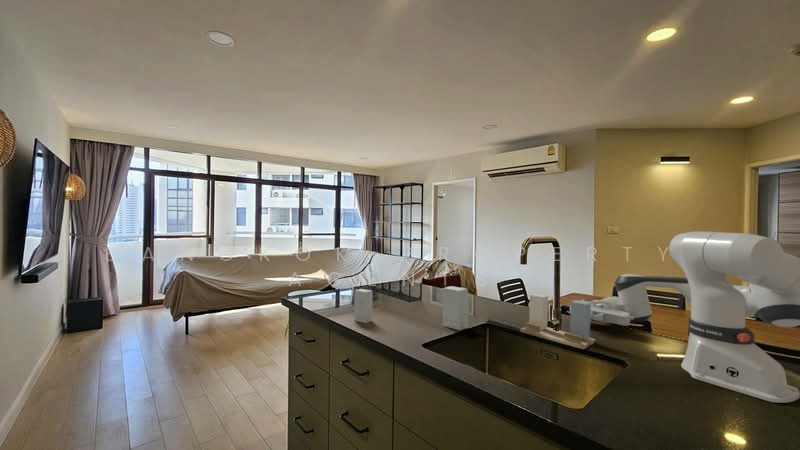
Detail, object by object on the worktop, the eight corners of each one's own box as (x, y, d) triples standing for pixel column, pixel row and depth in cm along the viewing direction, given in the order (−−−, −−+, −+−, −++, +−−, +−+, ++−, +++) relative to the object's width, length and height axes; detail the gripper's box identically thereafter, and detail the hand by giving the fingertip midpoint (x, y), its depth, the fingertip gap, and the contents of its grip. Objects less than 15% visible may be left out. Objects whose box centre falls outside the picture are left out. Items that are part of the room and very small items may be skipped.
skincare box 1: (372, 320, 136) (373, 290, 136) (365, 323, 133) (366, 292, 132) (360, 318, 139) (361, 288, 139) (353, 320, 136) (354, 290, 136)
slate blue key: (574, 333, 123) (575, 300, 122) (589, 337, 119) (590, 302, 119) (569, 336, 120) (570, 301, 120) (585, 340, 116) (586, 304, 116)
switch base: (533, 326, 135) (533, 317, 135) (595, 342, 119) (595, 332, 118) (519, 331, 128) (520, 322, 128) (583, 349, 111) (584, 338, 111)
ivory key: (534, 325, 132) (535, 293, 132) (547, 328, 128) (548, 295, 128) (529, 327, 129) (530, 294, 129) (542, 330, 125) (543, 297, 125)
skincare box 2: (468, 328, 130) (469, 288, 130) (458, 331, 126) (460, 290, 126) (450, 322, 136) (451, 285, 136) (440, 325, 132) (442, 286, 132)
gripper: (635, 325, 130) (624, 333, 120) (577, 313, 145) (563, 319, 135) (636, 308, 129) (625, 315, 120) (578, 298, 144) (564, 303, 135)
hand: (592, 317), depth 128 cm, fingers closed
